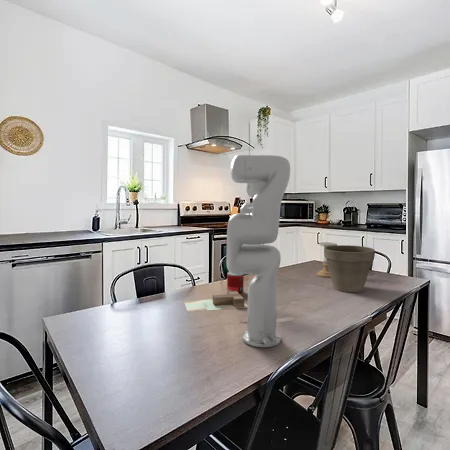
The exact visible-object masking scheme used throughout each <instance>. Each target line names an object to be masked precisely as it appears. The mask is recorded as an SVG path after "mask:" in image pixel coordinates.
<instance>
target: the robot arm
mask: <svg viewBox="0 0 450 450" xmlns="http://www.w3.org/2000/svg"><path fill="white" fill-rule="evenodd" d="M230 175H231V179H232V180H233V182H235V183H236V184H246V188H245V189H246V193H247V195H248V197H250V198H251V199H252V202H245V203H243V204H242V205H241V207H240V209H239V213H235V214H233V215H231V216H230V217H229V219H228V222H227V230H226V256H225V257H226V260H225V261H226V263H225V264H226V269H227V270H228V271H227V272H230V273H233V274H244V275H254V277H253V278H251V281H249V284H248V286H247V305H248V308H247V319H246V320H247V325H246V327H247V328H246V329H247V330H245V331H244V332H243V333H242V341H243V342H244V343H245V344H247V345H250V346H252V347H254V348H255V347H256V348H273V347H275V346H277V345H279V344H280V343H281V341H282V340H281V339H282V336H281V335H280V334H279V333H278V332H277V313H278V311H277V306H278V303H277V302H278V299H277V298H278V279H279V272H280V265H281V252H280V250H279V249H278V247H276V246H273V245H269V244H272V243H275V242H276V240H277V239H278V235H279V229H280V228H279V227H280V217H281V205H282V200H283V197H284V195H285V192H286V190H287V187H288V184H289V181H290V178H291V177H290V175H291V164H290V161H289V160H288V159H287V158H286V157H283V156H281V155H274V154H273V155H271V154H269V155H268V154H261V155H259V154H258V155H255V154H253V155H251V154H246V155H245V154H243V155H242V154H240V155H239V154H237V155H235V156H234V157H233V159H232V161H231V163H230Z"/></svg>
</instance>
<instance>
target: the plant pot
mask: <svg viewBox="0 0 450 450" xmlns="http://www.w3.org/2000/svg"><path fill="white" fill-rule="evenodd" d="M375 255H376V249H374V248H372V247H369V246H361V245H350V244H349V245H347V244H346V245H343V244H342V245H340V244H339V245H338V244H337V245H336V246H327V247H324V246H323V258H324V257H325V258H326V260H327V265H328V269H329V272H330V276H331V278H330V280H331V283H332V286H333V289H334V290H337V291H340V292H343V291H344V292H345V293H360V292H362V291H363V290H364V289H365V285H366V282H367V279H368V275H369V273H370V269H371V266H372V262H373V261H374V260H375Z"/></svg>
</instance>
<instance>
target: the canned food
mask: <svg viewBox="0 0 450 450" xmlns="http://www.w3.org/2000/svg"><path fill="white" fill-rule="evenodd" d="M244 275H245V274H233V273H230V272H229V271H227V274H226V278H227V279H226V287H227V288H226V290H227V293H226V294H228V291H237V292H238V293H239V294H240V295H241V296H242V295H243V294H244V279H245V278H244V277H245V276H244Z"/></svg>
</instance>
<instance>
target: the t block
mask: <svg viewBox="0 0 450 450" xmlns="http://www.w3.org/2000/svg"><path fill="white" fill-rule="evenodd" d="M212 299H213V304H214V306H219V305H233V306H234V307H235V309H237V308H236V307H244V302H245V298H244V297H243V296H242V294H241V295H240V294H239V293H238V292H237V291H228V293H226V294H212Z"/></svg>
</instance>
